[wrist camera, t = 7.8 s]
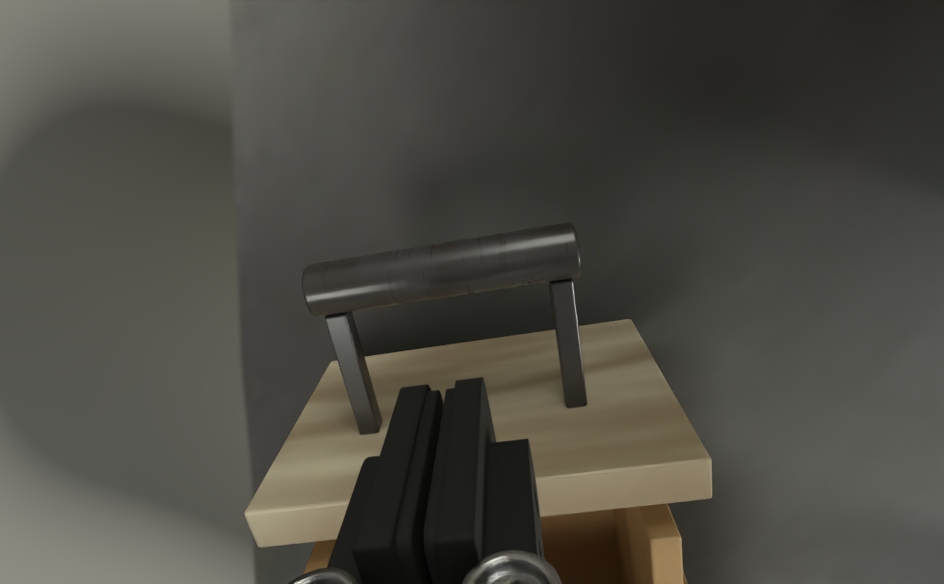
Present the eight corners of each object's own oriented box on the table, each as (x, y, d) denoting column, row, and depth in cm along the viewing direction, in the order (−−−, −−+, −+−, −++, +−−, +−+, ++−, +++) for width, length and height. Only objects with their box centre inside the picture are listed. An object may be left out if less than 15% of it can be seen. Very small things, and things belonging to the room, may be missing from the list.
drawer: (290, 230, 19) (162, 326, 11) (620, 175, 18) (709, 242, 10) (407, 608, 25) (372, 820, 18) (651, 585, 24) (719, 801, 17)
